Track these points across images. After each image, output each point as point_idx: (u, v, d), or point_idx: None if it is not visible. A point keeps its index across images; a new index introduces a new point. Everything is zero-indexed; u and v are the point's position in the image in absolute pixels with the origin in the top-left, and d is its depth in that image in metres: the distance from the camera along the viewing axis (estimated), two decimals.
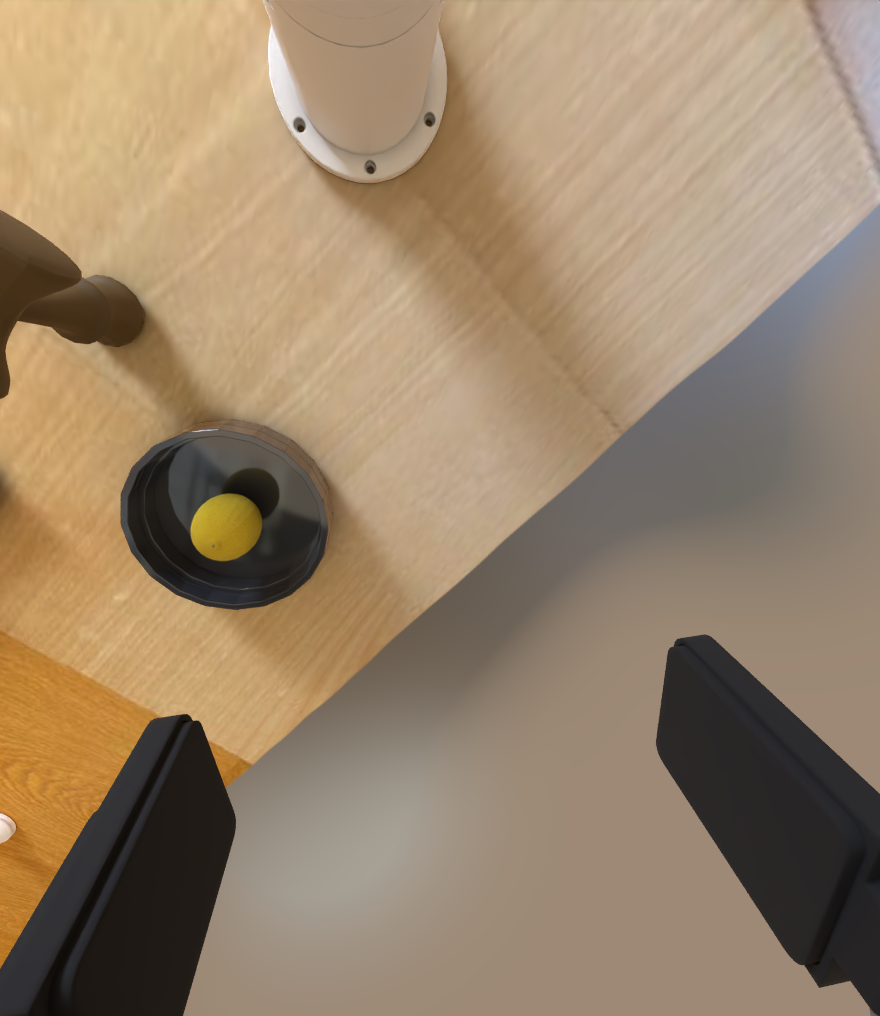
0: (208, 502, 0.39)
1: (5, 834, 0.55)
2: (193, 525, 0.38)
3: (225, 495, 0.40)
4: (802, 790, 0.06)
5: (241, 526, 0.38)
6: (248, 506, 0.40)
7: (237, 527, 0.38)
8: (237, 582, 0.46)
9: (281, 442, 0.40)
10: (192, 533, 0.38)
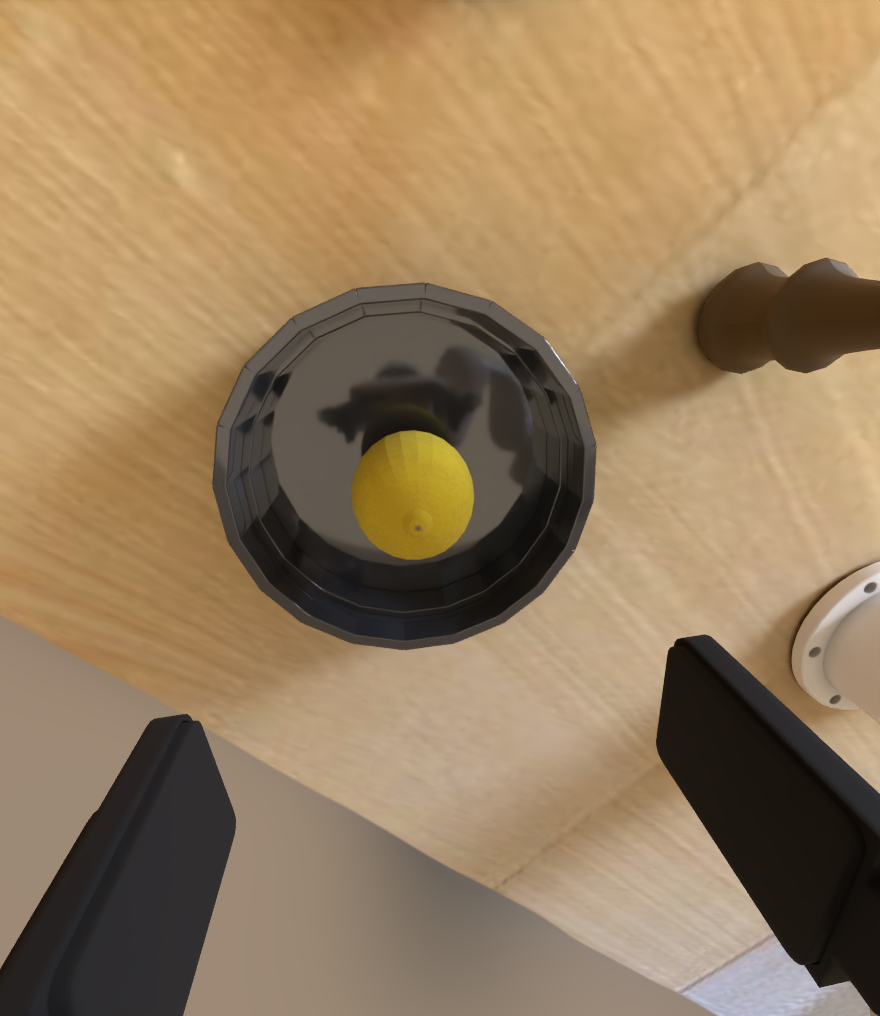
0: (469, 473, 0.20)
1: None
2: (445, 467, 0.18)
3: None
4: (802, 790, 0.06)
5: (439, 553, 0.19)
6: None
7: (440, 551, 0.19)
8: (257, 455, 0.23)
9: None
10: (430, 466, 0.18)
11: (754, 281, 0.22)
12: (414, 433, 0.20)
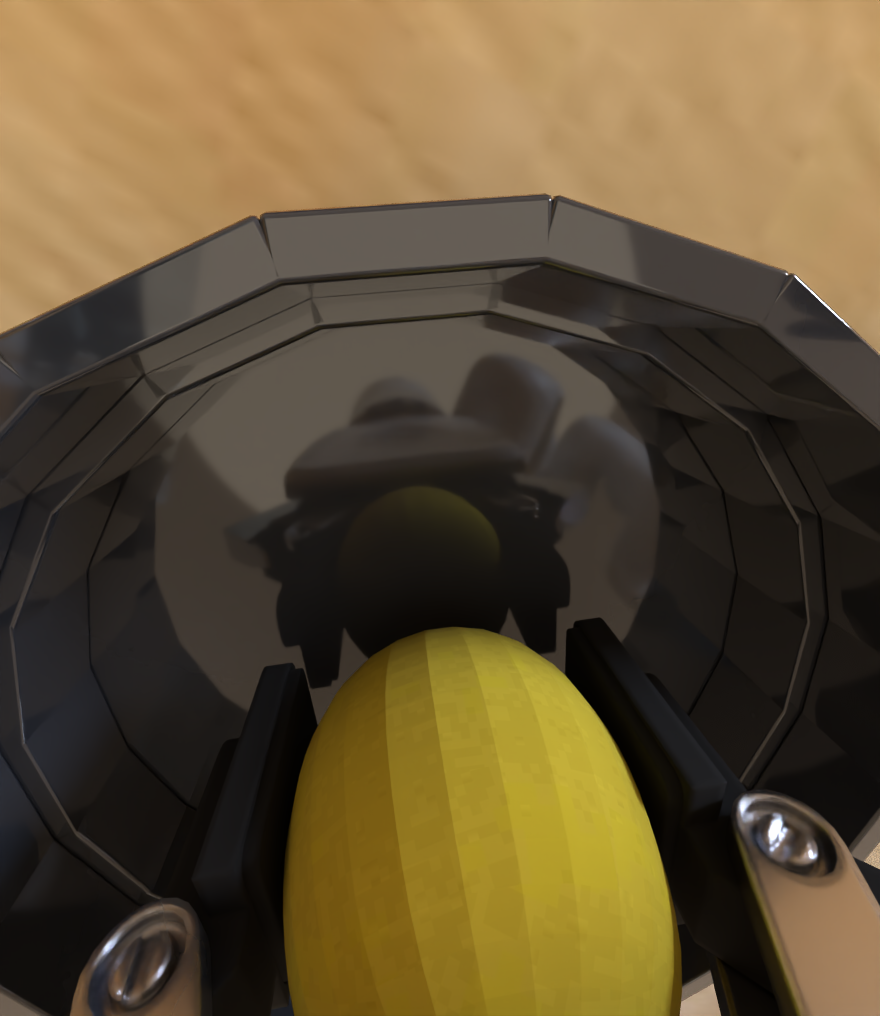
0: None
1: None
2: (621, 912, 0.05)
3: None
4: (644, 749, 0.07)
5: None
6: None
7: None
8: (63, 672, 0.09)
9: None
10: (574, 942, 0.04)
11: None
12: (478, 692, 0.06)
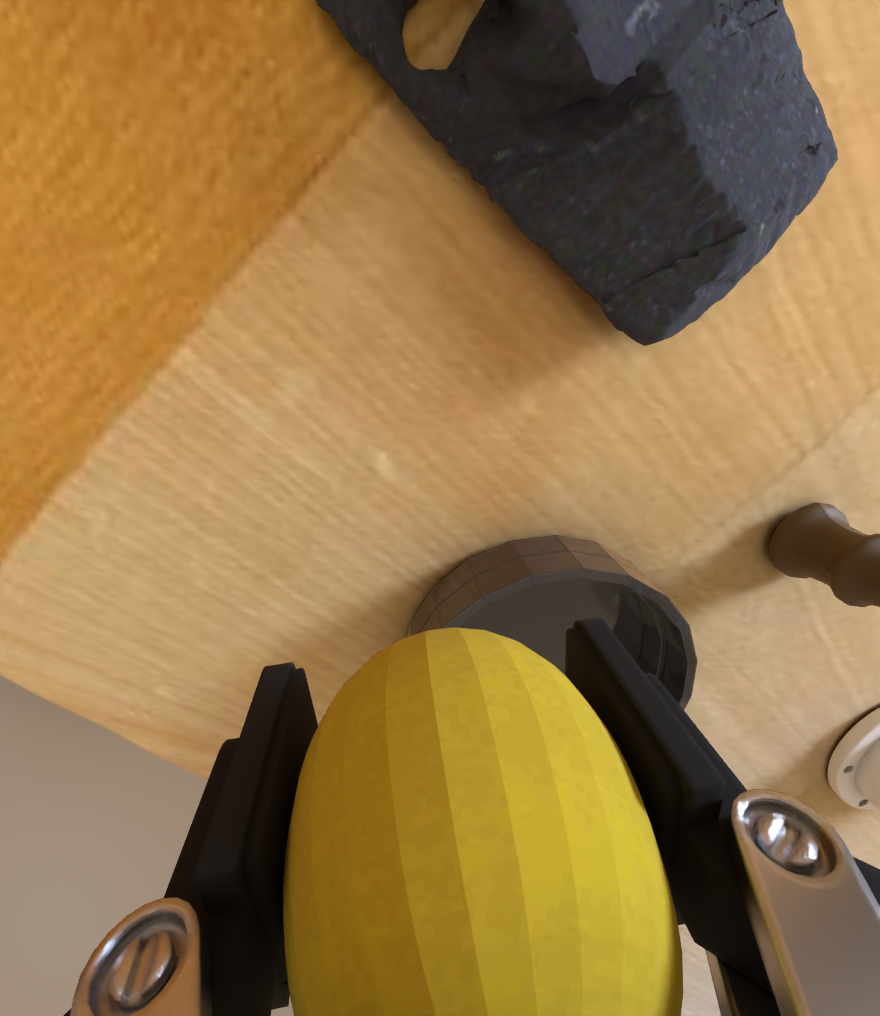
0: None
1: None
2: (622, 914, 0.05)
3: None
4: (644, 749, 0.07)
5: None
6: None
7: None
8: None
9: None
10: (575, 944, 0.04)
11: (817, 523, 0.27)
12: (478, 693, 0.06)
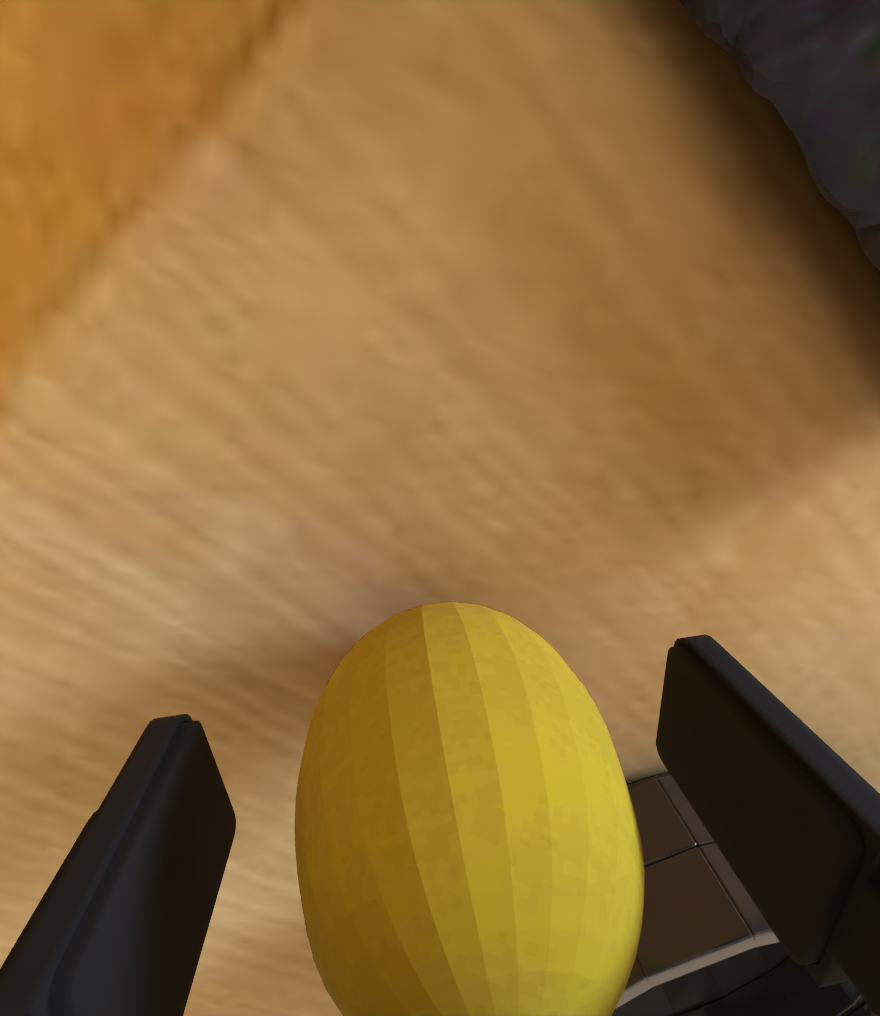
0: None
1: None
2: (589, 829, 0.06)
3: None
4: (802, 790, 0.06)
5: None
6: None
7: None
8: None
9: None
10: (546, 849, 0.05)
11: None
12: (468, 652, 0.07)
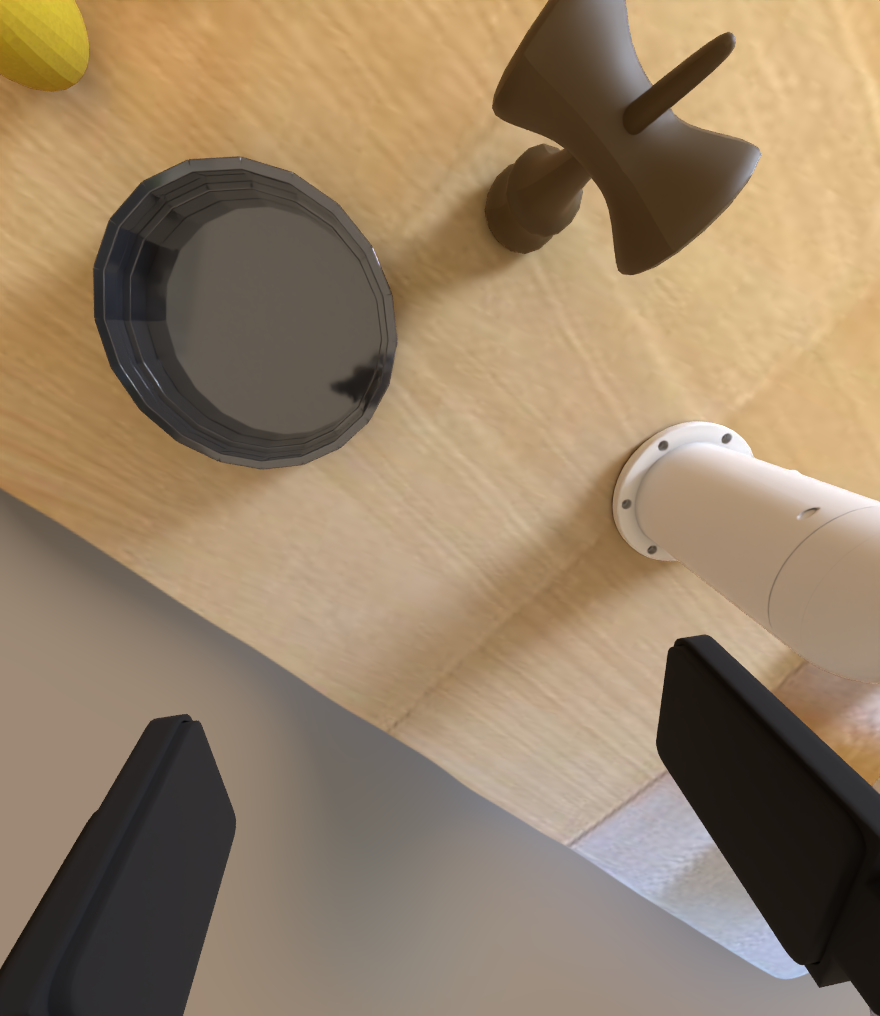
0: None
1: None
2: None
3: (78, 20, 0.22)
4: (802, 790, 0.06)
5: (8, 32, 0.20)
6: (63, 65, 0.23)
7: (2, 21, 0.20)
8: (139, 310, 0.29)
9: None
10: None
11: None
12: None
